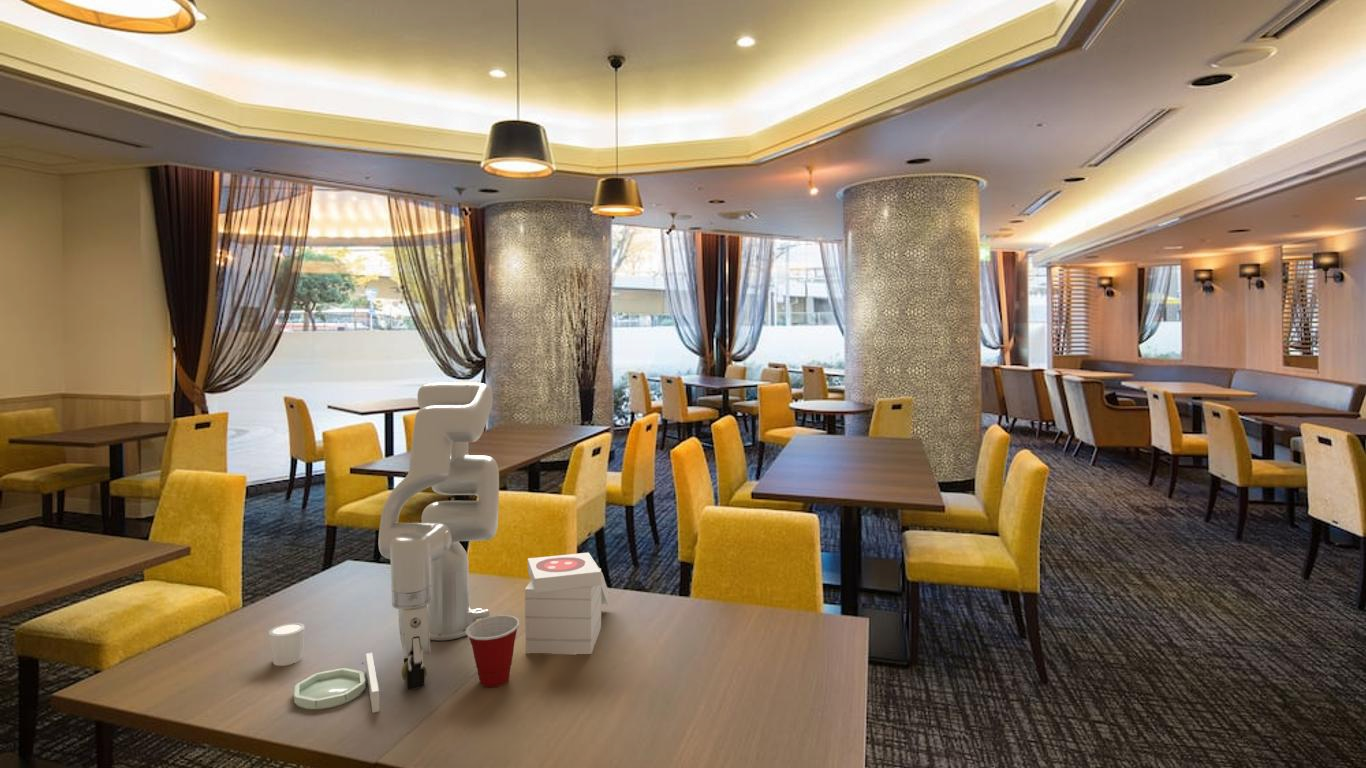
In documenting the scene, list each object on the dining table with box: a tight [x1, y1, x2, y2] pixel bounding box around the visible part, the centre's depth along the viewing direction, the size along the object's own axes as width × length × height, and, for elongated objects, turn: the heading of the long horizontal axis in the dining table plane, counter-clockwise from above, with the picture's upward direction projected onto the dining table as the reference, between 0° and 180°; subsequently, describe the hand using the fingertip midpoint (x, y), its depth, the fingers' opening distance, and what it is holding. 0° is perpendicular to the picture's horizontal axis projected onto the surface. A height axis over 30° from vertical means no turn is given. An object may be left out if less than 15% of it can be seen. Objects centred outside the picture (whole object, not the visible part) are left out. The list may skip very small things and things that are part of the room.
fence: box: [365, 652, 380, 714], centre depth 140 cm, size 1×18×4 cm, turn 28°
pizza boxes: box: [524, 552, 610, 655], centre depth 169 cm, size 19×30×18 cm, turn 178°
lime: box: [400, 659, 428, 683], centre depth 143 cm, size 4×5×5 cm
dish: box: [293, 667, 367, 710], centre depth 140 cm, size 13×13×2 cm
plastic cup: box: [465, 614, 520, 688], centre depth 144 cm, size 11×11×12 cm
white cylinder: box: [268, 622, 305, 667], centre depth 153 cm, size 7×7×7 cm
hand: (414, 680), depth 143 cm, fingers closed on lime, 4 cm apart
